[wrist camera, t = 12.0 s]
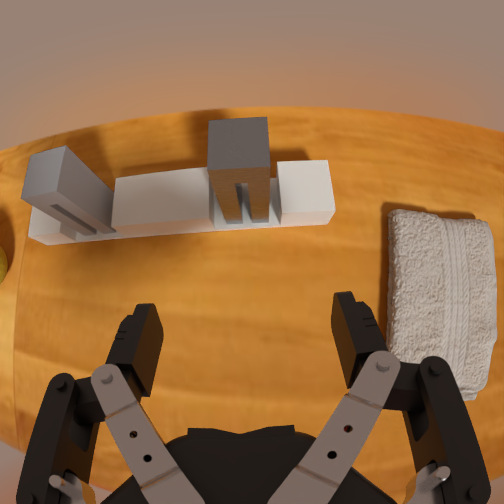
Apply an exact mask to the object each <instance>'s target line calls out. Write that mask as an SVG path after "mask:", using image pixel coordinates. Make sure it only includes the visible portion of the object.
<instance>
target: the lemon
mask: <svg viewBox="0 0 504 504" xmlns="http://www.w3.org/2000/svg"><path fill="white" fill-rule="evenodd" d="M7 269H8V262H7V257H6V254H5V252H4V250H3V248H2V247H1V246H0V284H1V283H2V282H3V280H4V278H5V276H6V274H7Z"/></svg>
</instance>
